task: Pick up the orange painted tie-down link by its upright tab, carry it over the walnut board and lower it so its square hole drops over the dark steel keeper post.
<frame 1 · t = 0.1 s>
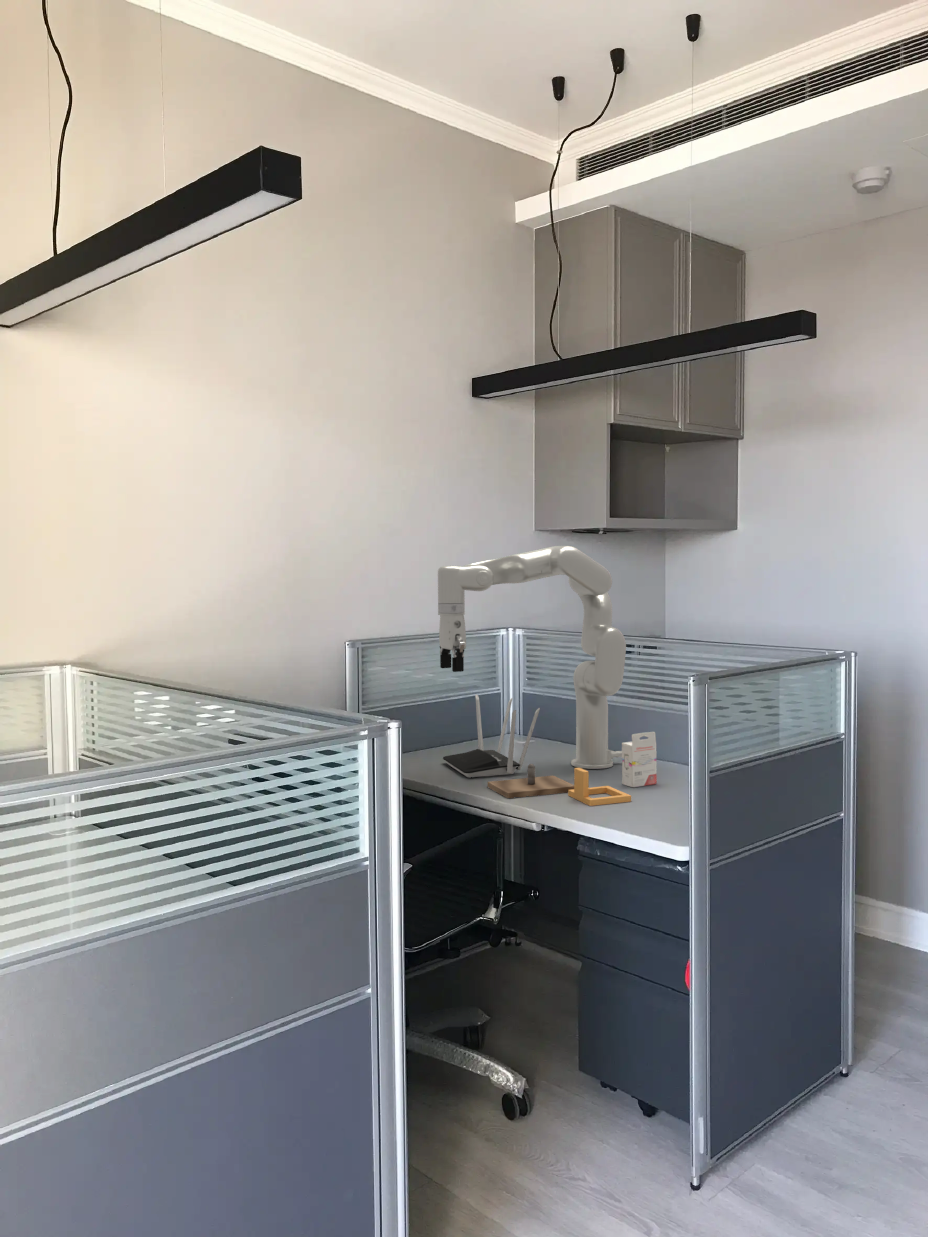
hand: (451, 669, 279), 31 cm above the table, tool pointing down, fingers open, 9 cm apart
wireless router: (490, 769, 294), on the table
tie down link: (599, 798, 257), on the table
keeper post: (531, 789, 267), on the table
ink cartridge box: (639, 785, 272), on the table
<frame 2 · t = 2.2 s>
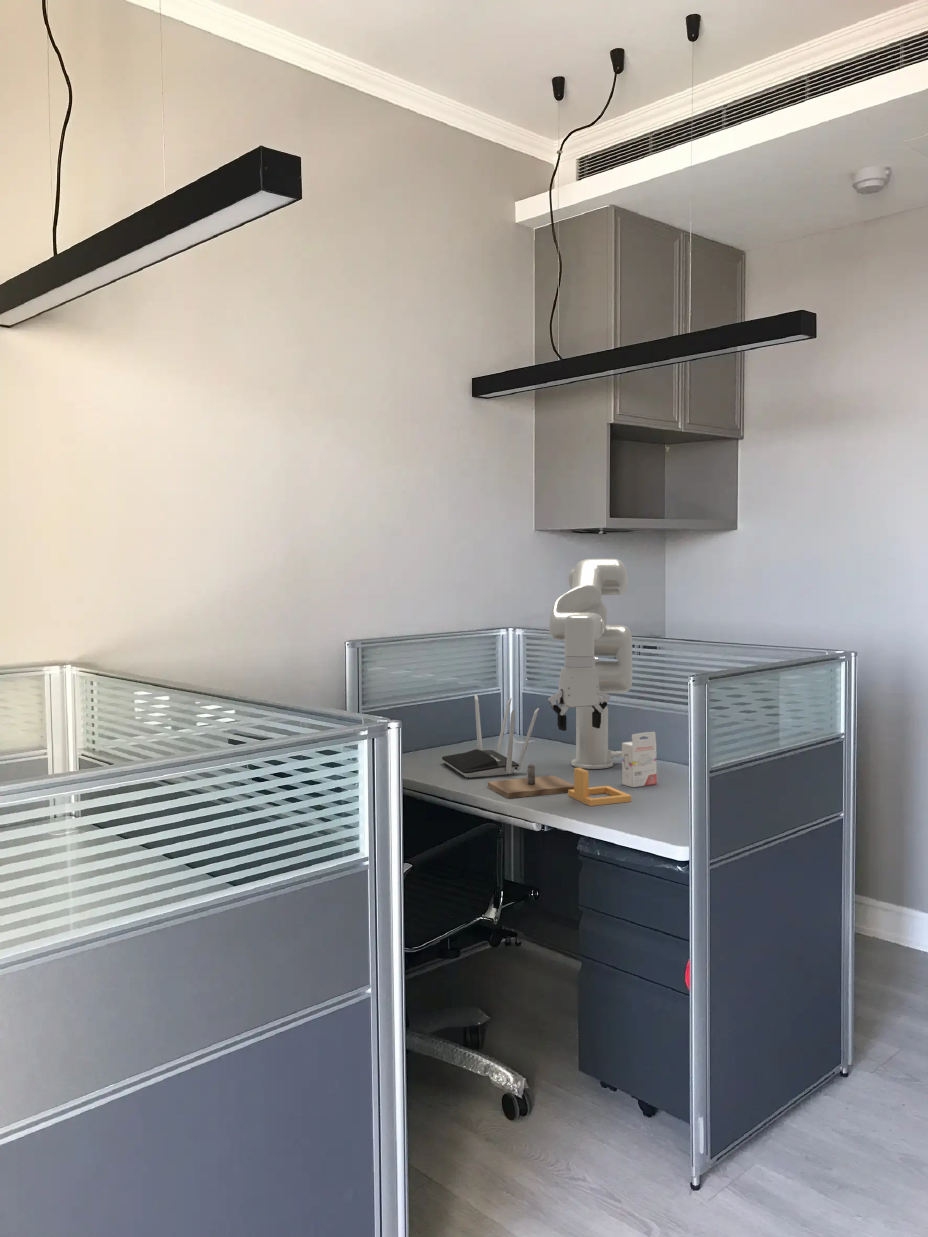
hand: (579, 728, 254), 19 cm above the table, tool pointing down, fingers open, 9 cm apart
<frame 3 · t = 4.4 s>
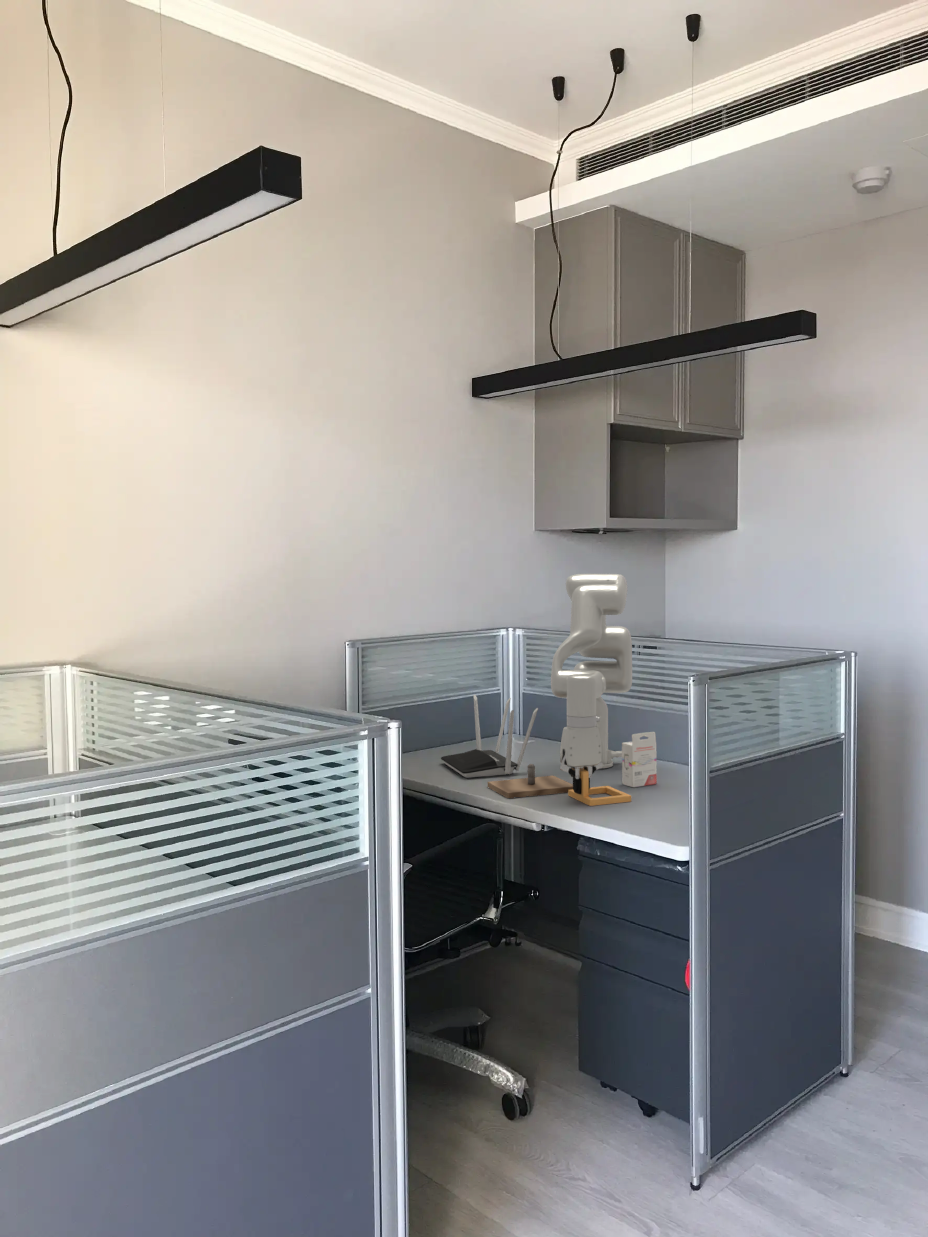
hand: (581, 792, 255), 2 cm above the table, tool pointing down, fingers closed on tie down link
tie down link: (599, 798, 257), on the table, touching gripper
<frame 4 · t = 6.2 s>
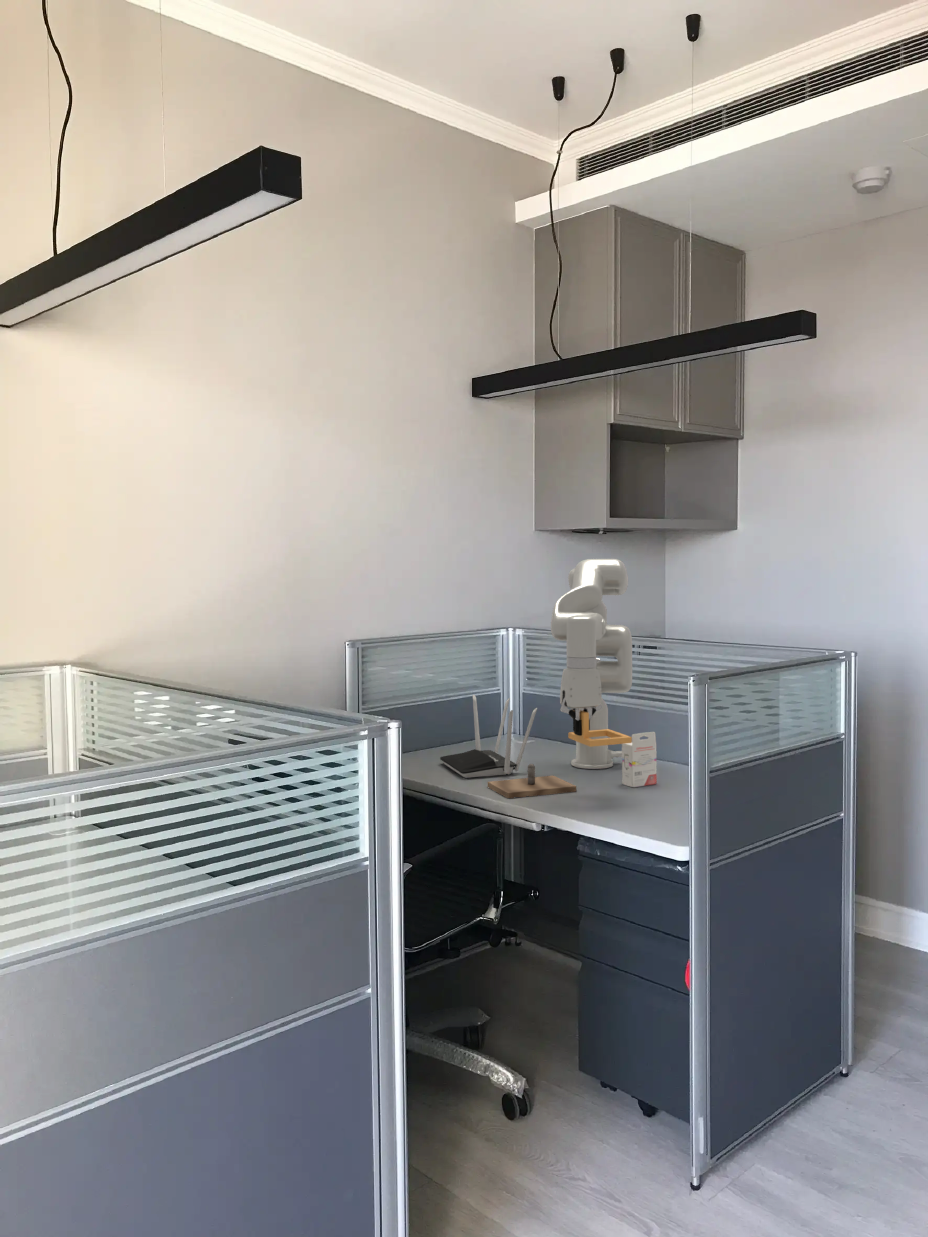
hand: (581, 734, 254), 17 cm above the table, tool pointing down, fingers closed on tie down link
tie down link: (599, 740, 256), point 15 cm above the table, touching gripper
everything else where it was.
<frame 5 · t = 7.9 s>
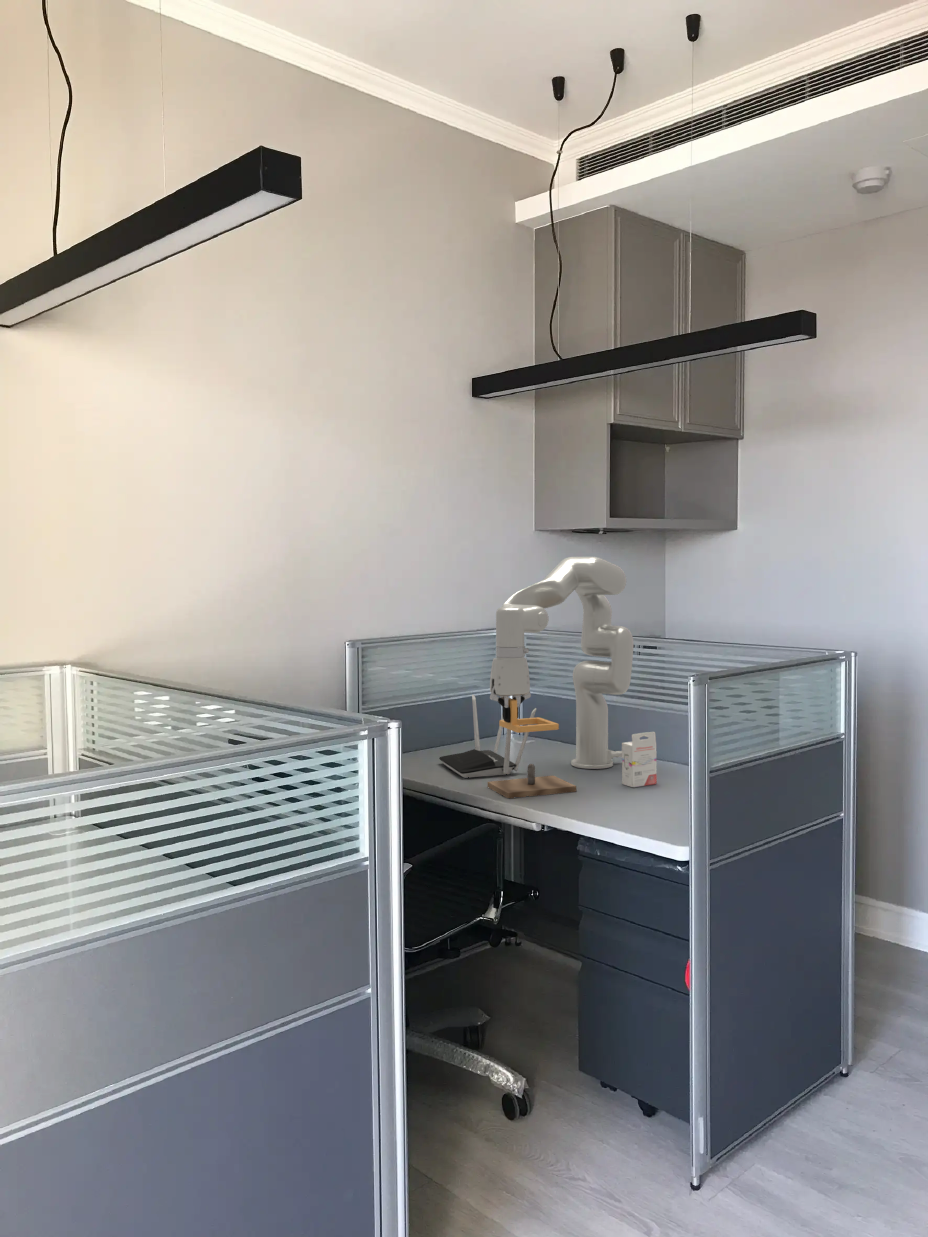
hand: (510, 721, 264), 19 cm above the table, tool pointing down, fingers closed on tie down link
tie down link: (528, 727, 266), point 17 cm above the table, touching gripper
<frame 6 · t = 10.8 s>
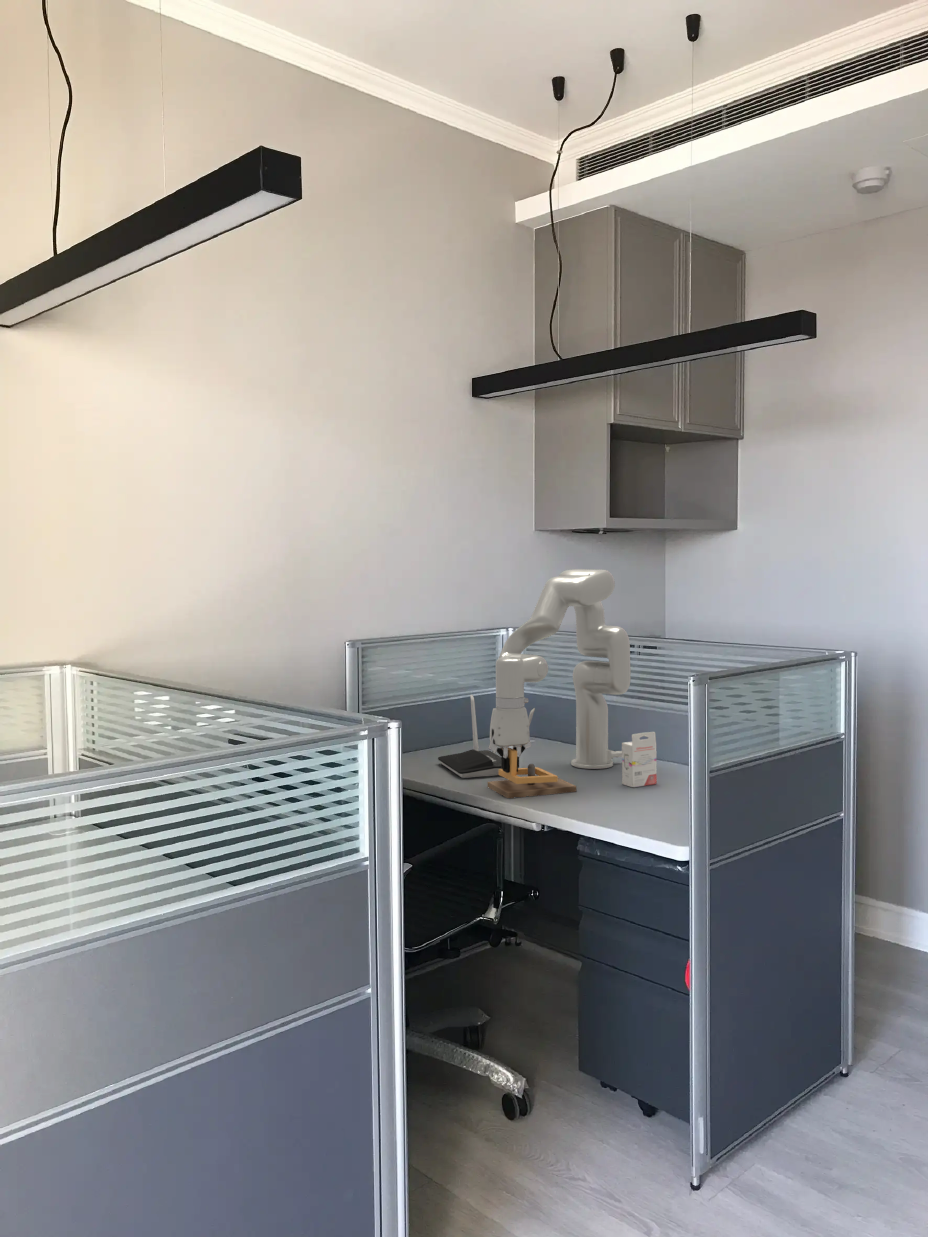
hand: (510, 770, 265), 6 cm above the table, tool pointing down, fingers closed on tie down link
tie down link: (527, 778, 267), point 3 cm above the table, touching gripper
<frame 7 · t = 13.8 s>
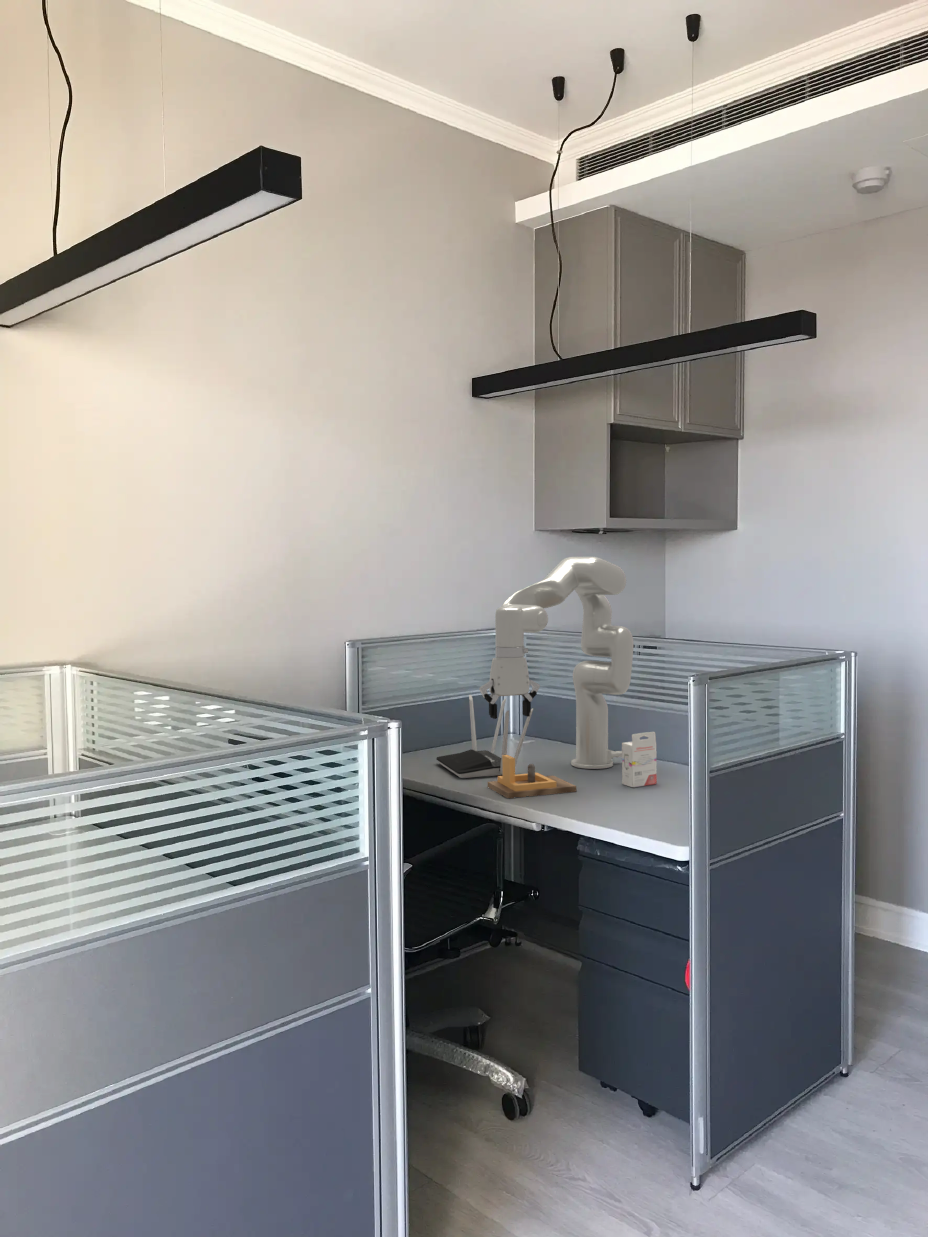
hand: (510, 716, 264), 20 cm above the table, tool pointing down, fingers open, 9 cm apart
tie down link: (526, 784, 267), point 1 cm above the table, touching keeper post
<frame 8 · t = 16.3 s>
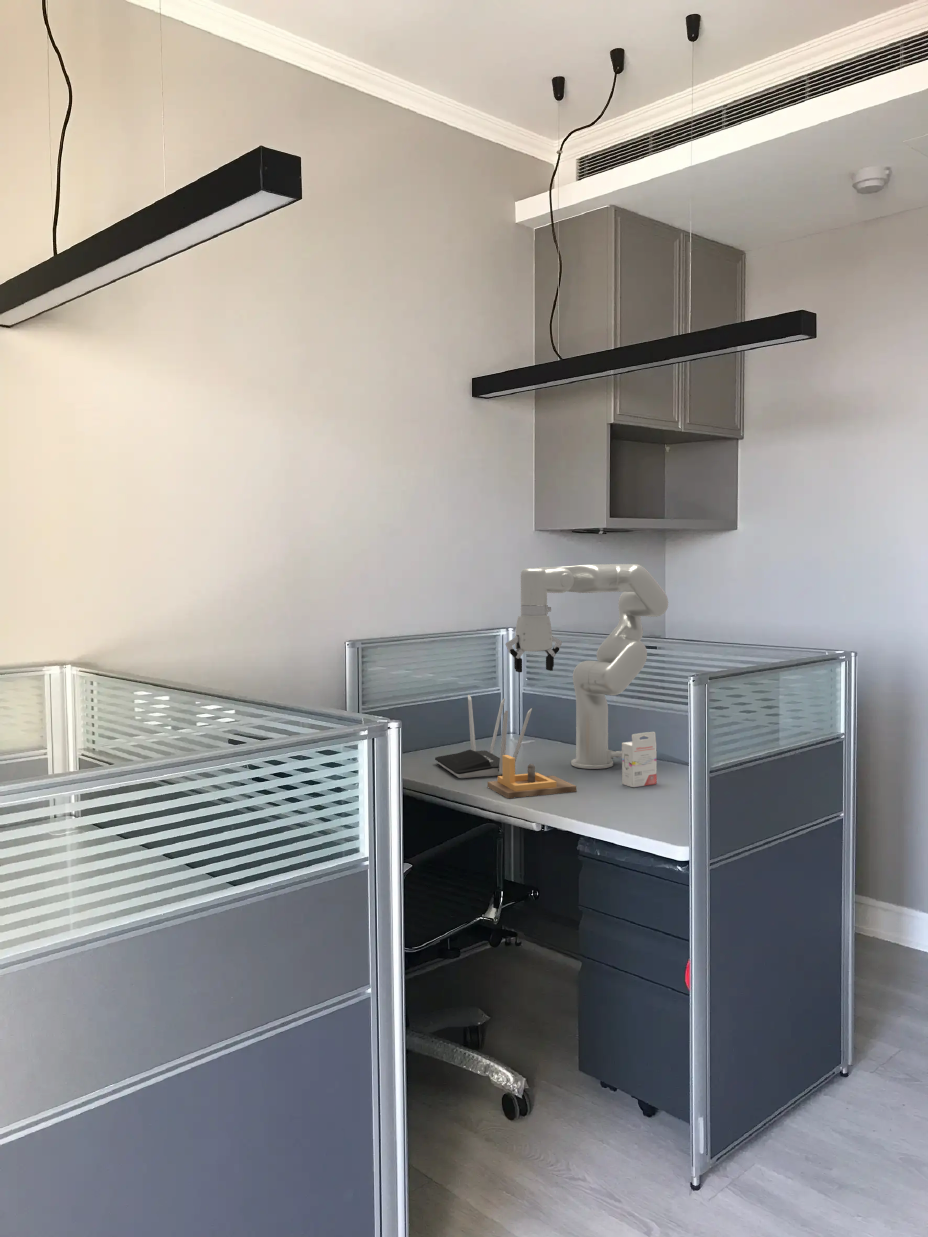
hand: (534, 671, 282), 30 cm above the table, tool pointing down, fingers open, 9 cm apart
at the end: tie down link inside the target area on the keeper post (1.5 cm from its centre), point 1.5 cm above the keeper post's base; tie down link tilted 0°; the gripper is holding nothing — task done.
